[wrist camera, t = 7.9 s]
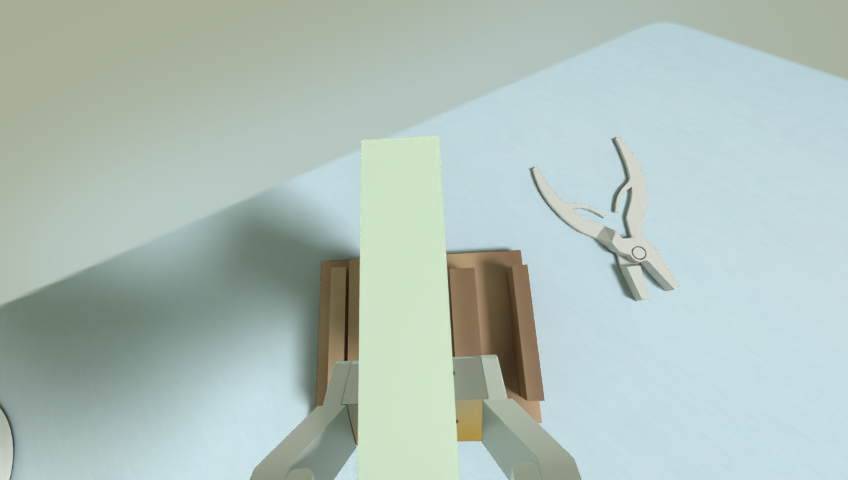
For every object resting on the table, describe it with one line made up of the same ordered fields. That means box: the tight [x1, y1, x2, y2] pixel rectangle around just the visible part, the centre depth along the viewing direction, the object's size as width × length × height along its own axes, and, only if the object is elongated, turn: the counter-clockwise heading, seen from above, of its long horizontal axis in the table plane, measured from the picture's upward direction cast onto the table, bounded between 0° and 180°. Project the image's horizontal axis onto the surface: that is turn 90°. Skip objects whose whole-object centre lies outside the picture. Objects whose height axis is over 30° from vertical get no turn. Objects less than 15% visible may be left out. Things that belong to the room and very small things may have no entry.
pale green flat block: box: [357, 136, 460, 480], centre depth 14 cm, size 2×8×13 cm, turn 2°
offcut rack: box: [316, 250, 544, 423], centre depth 29 cm, size 18×14×6 cm
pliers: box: [532, 137, 679, 301], centre depth 34 cm, size 10×2×15 cm
